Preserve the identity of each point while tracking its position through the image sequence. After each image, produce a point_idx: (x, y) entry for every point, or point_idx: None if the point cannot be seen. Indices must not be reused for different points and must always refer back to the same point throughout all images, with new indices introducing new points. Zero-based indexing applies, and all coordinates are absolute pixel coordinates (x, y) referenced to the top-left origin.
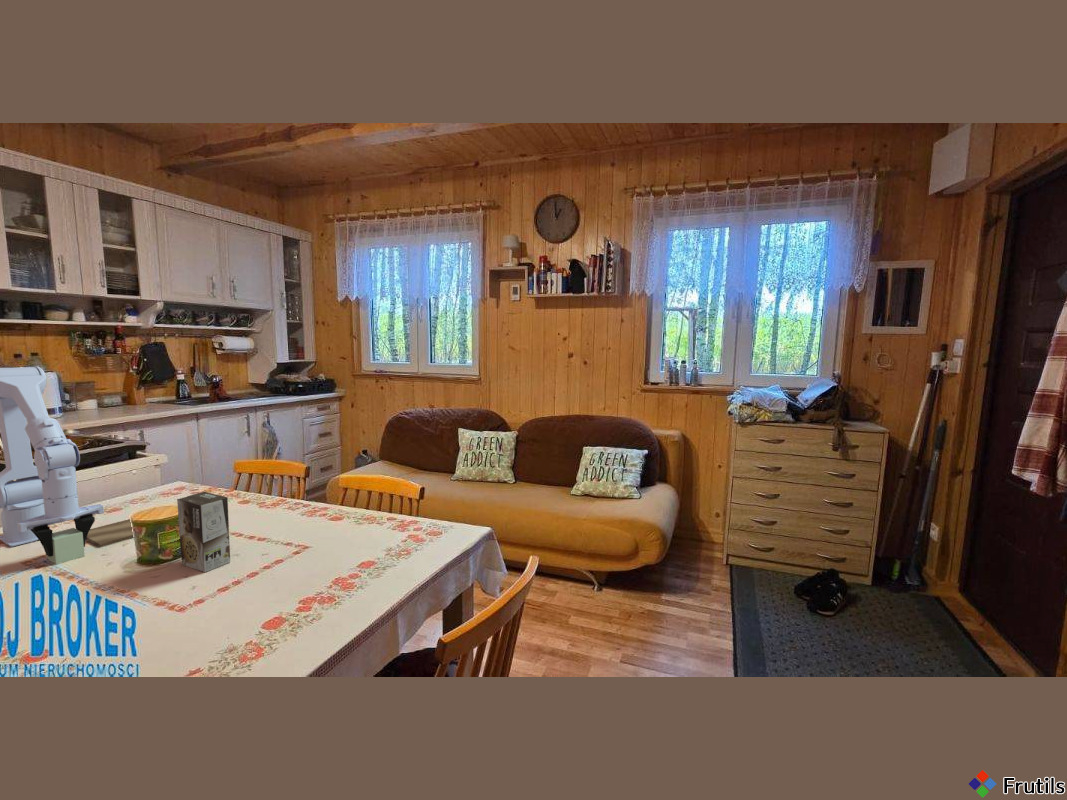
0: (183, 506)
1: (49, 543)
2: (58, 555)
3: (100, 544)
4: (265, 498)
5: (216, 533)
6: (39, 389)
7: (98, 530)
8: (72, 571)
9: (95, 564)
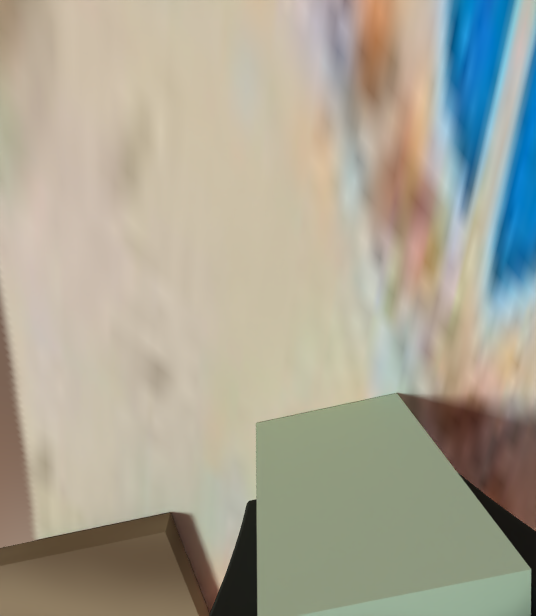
0: None
1: (525, 551)
2: (408, 433)
3: (163, 529)
4: None
5: None
6: None
7: None
8: (349, 195)
9: (214, 224)
